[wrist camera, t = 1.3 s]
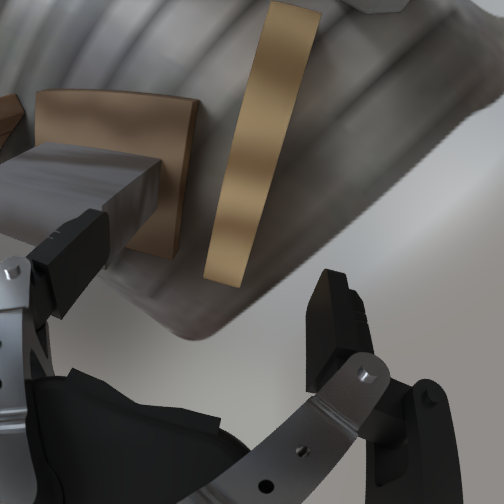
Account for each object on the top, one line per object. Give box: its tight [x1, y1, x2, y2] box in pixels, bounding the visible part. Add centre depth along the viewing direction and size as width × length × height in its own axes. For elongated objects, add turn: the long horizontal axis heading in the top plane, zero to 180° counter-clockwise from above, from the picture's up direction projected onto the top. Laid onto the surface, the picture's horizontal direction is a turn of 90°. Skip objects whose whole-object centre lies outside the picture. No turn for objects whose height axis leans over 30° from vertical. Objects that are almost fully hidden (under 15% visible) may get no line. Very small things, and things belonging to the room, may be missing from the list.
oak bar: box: [203, 0, 322, 288], centre depth 24 cm, size 24×4×5 cm, turn 165°
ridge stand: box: [0, 89, 199, 270], centre depth 23 cm, size 16×18×12 cm
